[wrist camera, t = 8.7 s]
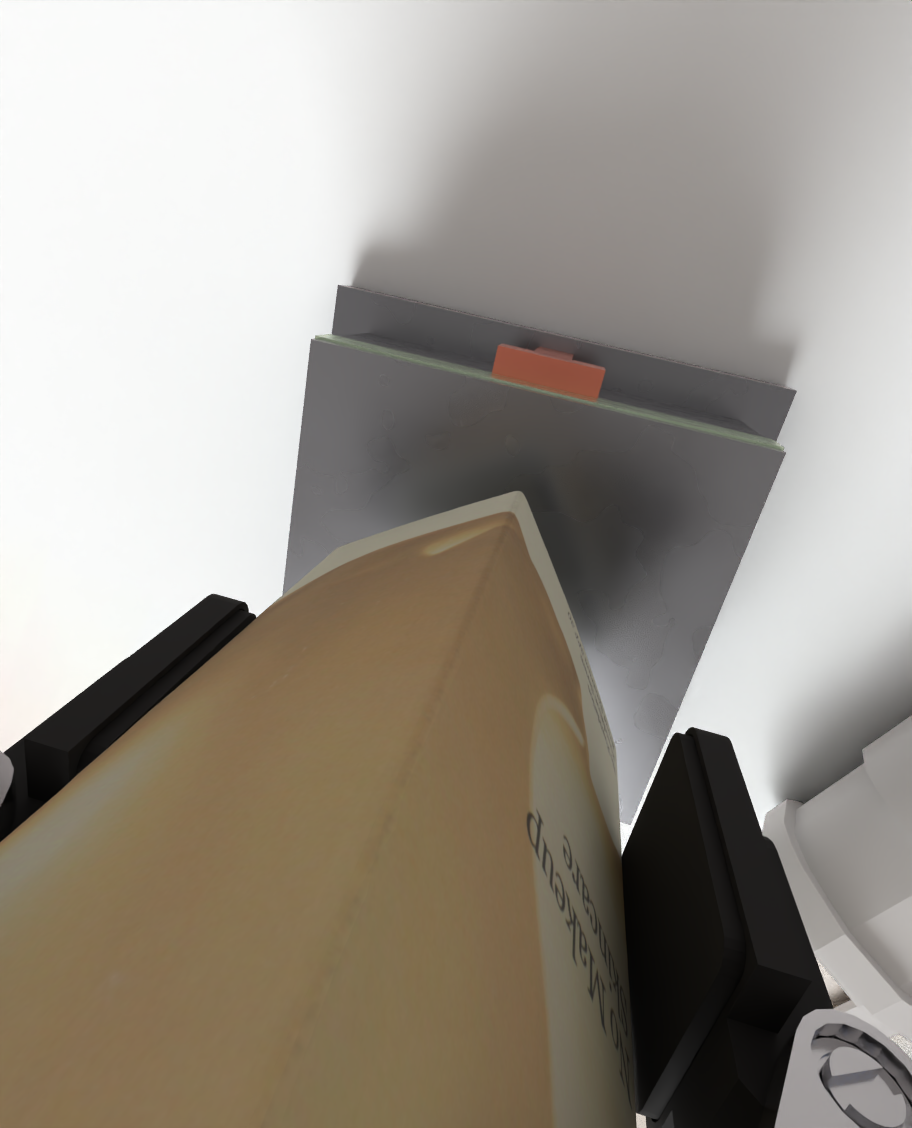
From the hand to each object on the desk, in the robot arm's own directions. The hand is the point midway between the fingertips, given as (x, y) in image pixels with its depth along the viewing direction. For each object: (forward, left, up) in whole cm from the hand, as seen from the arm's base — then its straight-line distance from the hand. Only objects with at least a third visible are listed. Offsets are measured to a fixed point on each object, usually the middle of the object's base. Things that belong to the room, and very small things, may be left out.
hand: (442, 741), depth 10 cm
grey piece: (0, 0, -10) cm, 10 cm away
